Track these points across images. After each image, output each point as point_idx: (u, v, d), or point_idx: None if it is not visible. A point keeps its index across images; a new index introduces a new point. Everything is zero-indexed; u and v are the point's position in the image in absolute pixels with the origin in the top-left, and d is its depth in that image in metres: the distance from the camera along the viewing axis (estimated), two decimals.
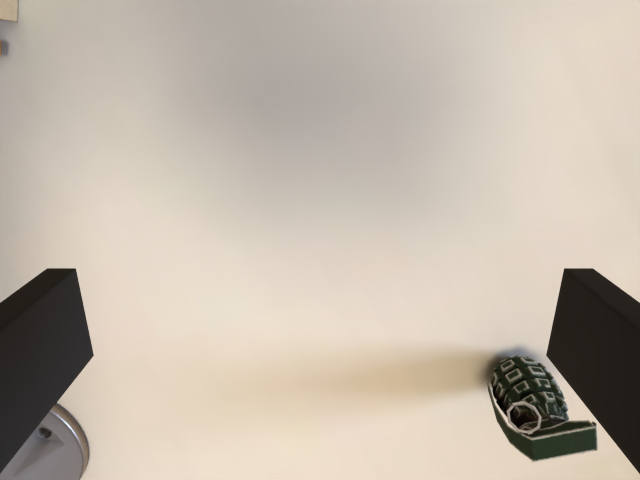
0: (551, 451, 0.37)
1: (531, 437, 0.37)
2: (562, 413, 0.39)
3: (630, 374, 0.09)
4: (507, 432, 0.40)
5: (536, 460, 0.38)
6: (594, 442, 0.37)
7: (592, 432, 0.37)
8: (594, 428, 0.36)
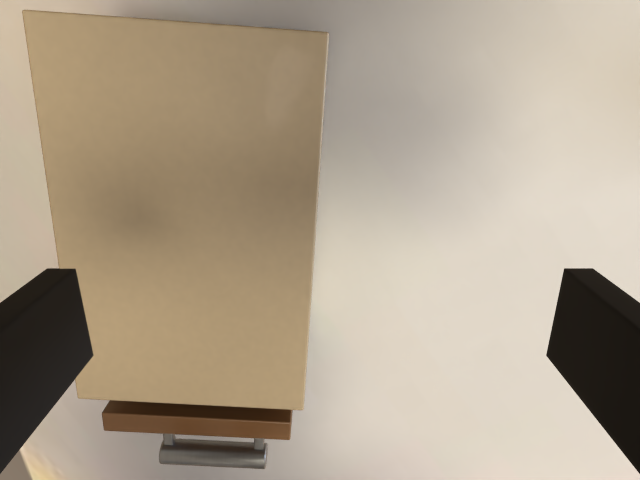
0: None
1: None
2: None
3: (630, 374, 0.09)
4: None
5: None
6: None
7: None
8: None
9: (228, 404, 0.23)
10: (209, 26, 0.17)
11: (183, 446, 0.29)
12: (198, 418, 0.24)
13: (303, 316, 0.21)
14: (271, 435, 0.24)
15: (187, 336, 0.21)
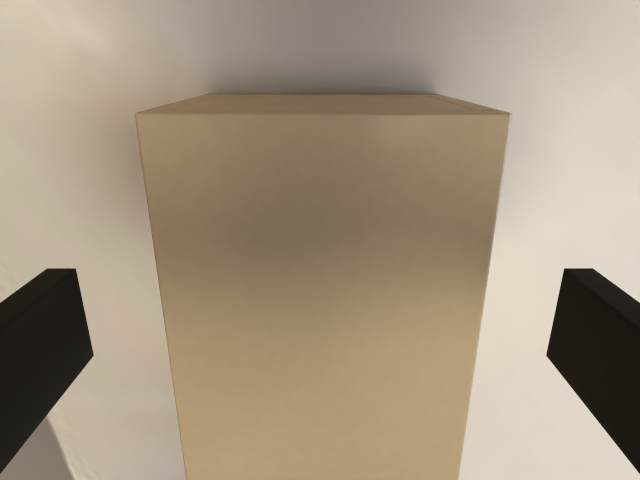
0: None
1: None
2: None
3: (630, 374, 0.09)
4: None
5: None
6: None
7: None
8: None
9: None
10: (363, 116, 0.13)
11: None
12: None
13: (458, 430, 0.18)
14: None
15: (320, 457, 0.18)
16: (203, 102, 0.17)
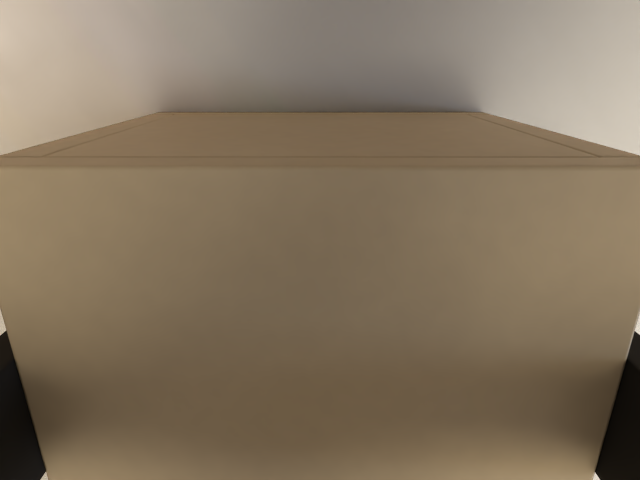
0: None
1: None
2: None
3: None
4: None
5: None
6: None
7: None
8: None
9: None
10: (397, 173, 0.07)
11: None
12: None
13: None
14: None
15: None
16: (129, 132, 0.11)
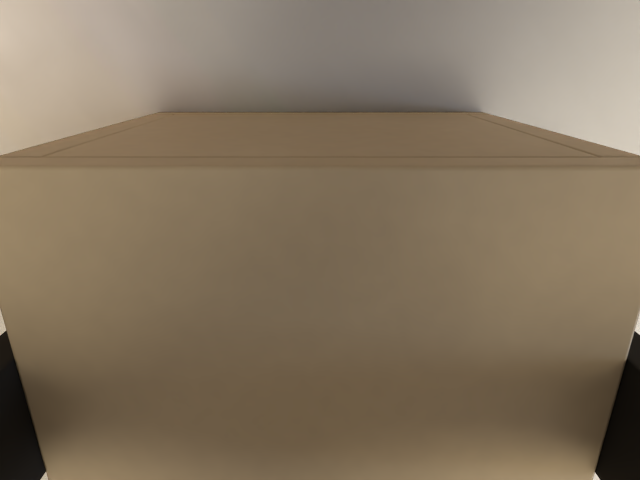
0: None
1: None
2: None
3: None
4: None
5: None
6: None
7: None
8: None
9: None
10: (397, 173, 0.07)
11: None
12: None
13: None
14: None
15: None
16: (129, 132, 0.11)
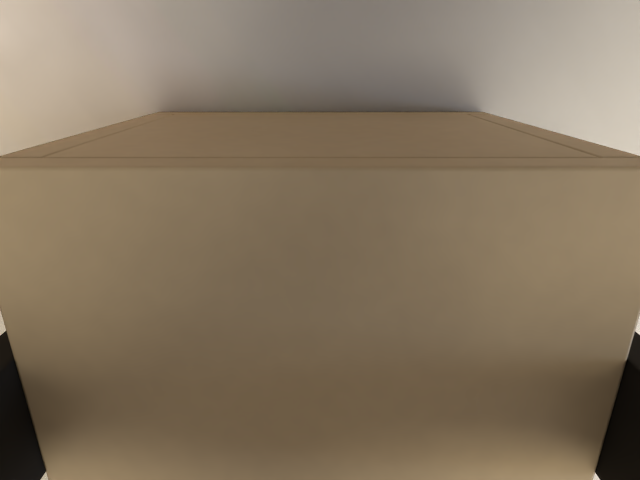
0: None
1: None
2: None
3: None
4: None
5: None
6: None
7: None
8: None
9: None
10: (397, 174, 0.07)
11: None
12: None
13: None
14: None
15: None
16: (128, 132, 0.11)
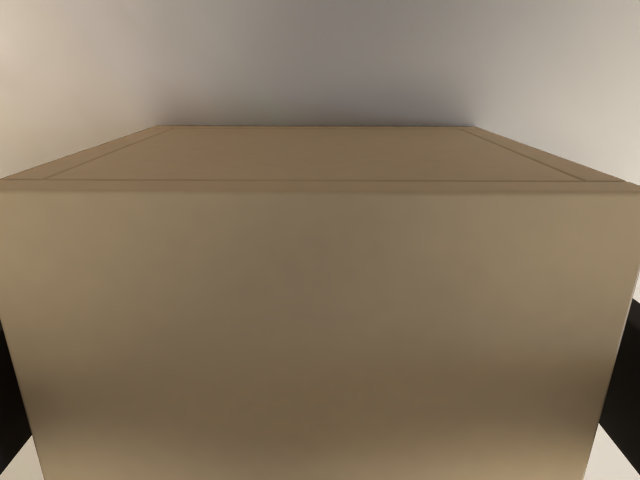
0: None
1: None
2: None
3: (629, 374, 0.09)
4: None
5: None
6: None
7: None
8: None
9: None
10: (388, 198, 0.07)
11: None
12: None
13: None
14: None
15: None
16: (128, 150, 0.11)
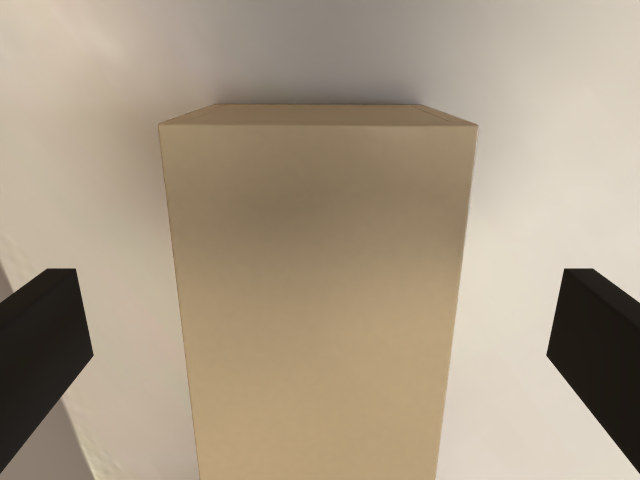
0: None
1: None
2: None
3: (630, 374, 0.09)
4: None
5: None
6: None
7: None
8: None
9: None
10: (353, 127, 0.16)
11: None
12: None
13: (438, 403, 0.20)
14: None
15: (316, 429, 0.20)
16: (213, 113, 0.19)
